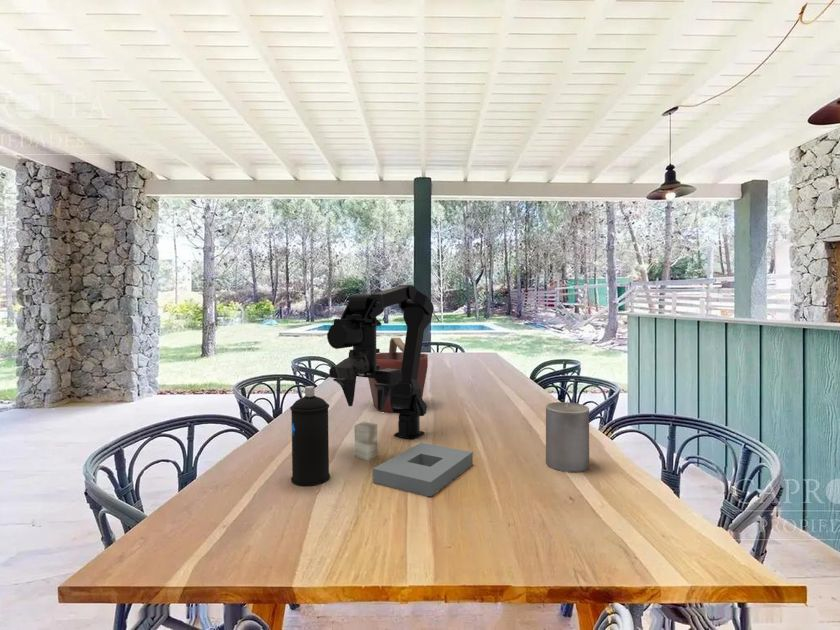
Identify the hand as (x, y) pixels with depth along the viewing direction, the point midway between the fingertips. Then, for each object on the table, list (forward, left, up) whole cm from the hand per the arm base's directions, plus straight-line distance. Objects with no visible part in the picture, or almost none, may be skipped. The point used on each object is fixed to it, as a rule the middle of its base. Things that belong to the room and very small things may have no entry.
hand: (365, 408), depth 111 cm
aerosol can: (+17, -2, -12) cm, 21 cm away
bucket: (-45, -21, -12) cm, 51 cm away
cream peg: (0, 0, -12) cm, 12 cm away
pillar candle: (-19, +44, -12) cm, 50 cm away
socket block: (+2, +18, -12) cm, 22 cm away
